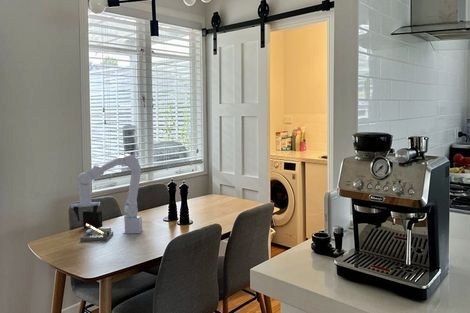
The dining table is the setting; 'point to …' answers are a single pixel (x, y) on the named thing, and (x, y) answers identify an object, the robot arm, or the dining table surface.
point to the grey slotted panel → (98, 235)
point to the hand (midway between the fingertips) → (86, 220)
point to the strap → (94, 229)
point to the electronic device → (89, 218)
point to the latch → (89, 231)
